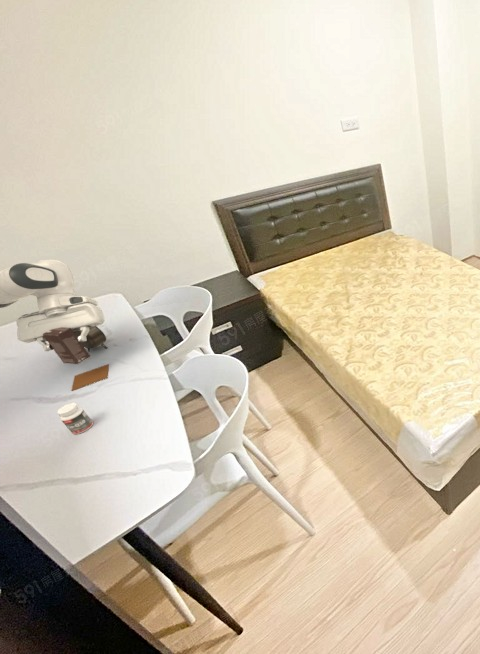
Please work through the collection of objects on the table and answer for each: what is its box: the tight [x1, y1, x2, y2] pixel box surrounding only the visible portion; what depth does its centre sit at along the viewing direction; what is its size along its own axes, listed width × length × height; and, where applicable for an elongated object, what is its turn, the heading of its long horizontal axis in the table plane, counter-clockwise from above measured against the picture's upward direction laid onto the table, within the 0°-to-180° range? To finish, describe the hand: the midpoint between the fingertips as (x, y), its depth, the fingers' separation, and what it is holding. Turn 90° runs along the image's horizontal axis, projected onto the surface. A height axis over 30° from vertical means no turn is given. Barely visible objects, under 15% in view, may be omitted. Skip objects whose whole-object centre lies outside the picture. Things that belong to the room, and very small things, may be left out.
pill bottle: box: [57, 402, 94, 435], centre depth 115 cm, size 5×5×8 cm
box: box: [43, 327, 91, 365], centre depth 129 cm, size 6×4×12 cm
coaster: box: [71, 363, 110, 391], centre depth 136 cm, size 9×9×1 cm
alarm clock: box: [74, 325, 108, 353], centre depth 146 cm, size 11×5×16 cm, turn 76°
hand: (66, 345), depth 129 cm, fingers closed on box, 7 cm apart
